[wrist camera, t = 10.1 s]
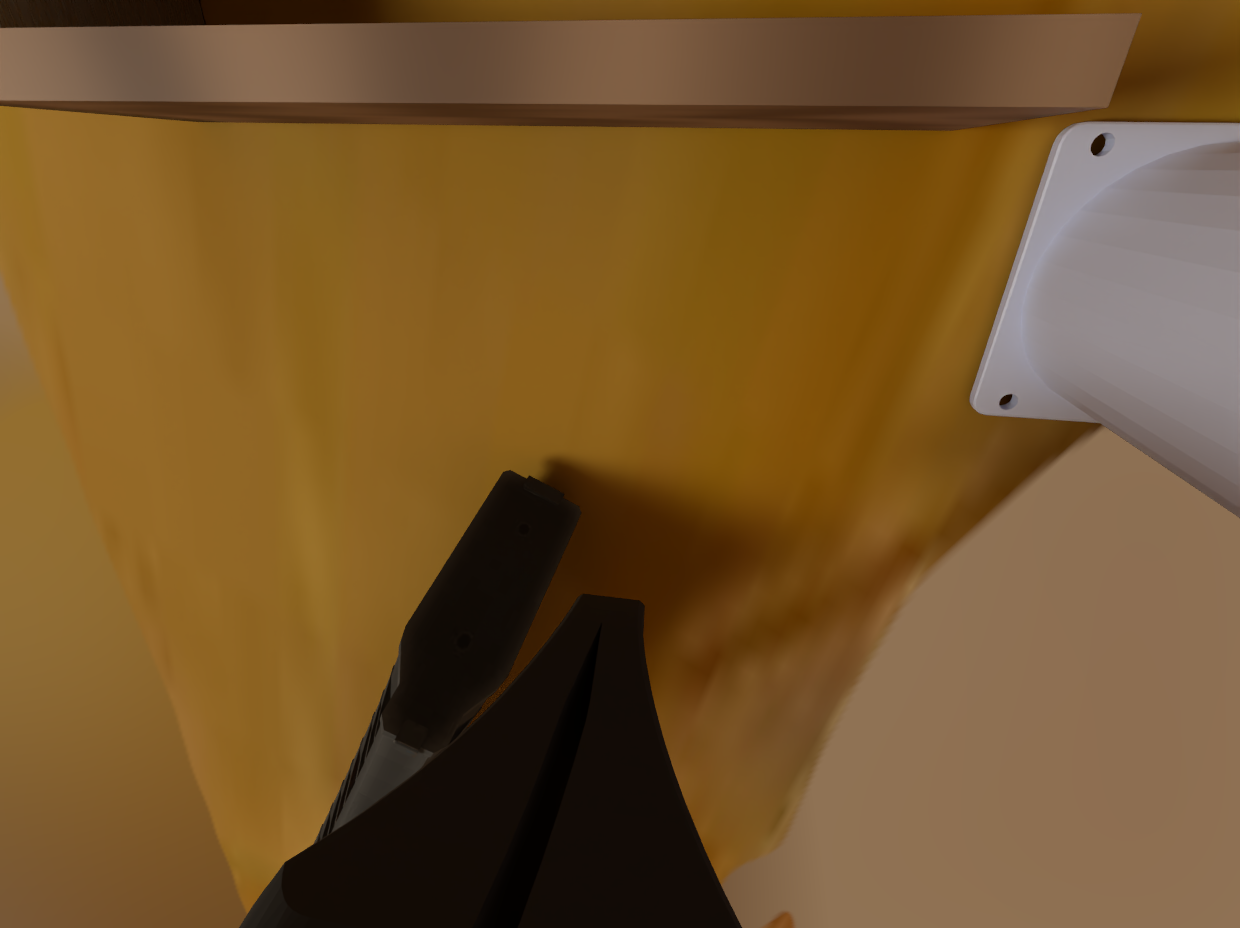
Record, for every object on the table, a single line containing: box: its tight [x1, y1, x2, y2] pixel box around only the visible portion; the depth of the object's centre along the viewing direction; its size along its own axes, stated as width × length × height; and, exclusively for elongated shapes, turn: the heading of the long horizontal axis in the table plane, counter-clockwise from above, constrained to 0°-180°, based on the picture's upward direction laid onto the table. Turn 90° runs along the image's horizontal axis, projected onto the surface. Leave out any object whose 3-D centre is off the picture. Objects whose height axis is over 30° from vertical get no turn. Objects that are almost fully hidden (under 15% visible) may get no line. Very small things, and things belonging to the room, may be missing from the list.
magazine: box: [314, 470, 581, 844], centre depth 25 cm, size 17×3×30 cm
